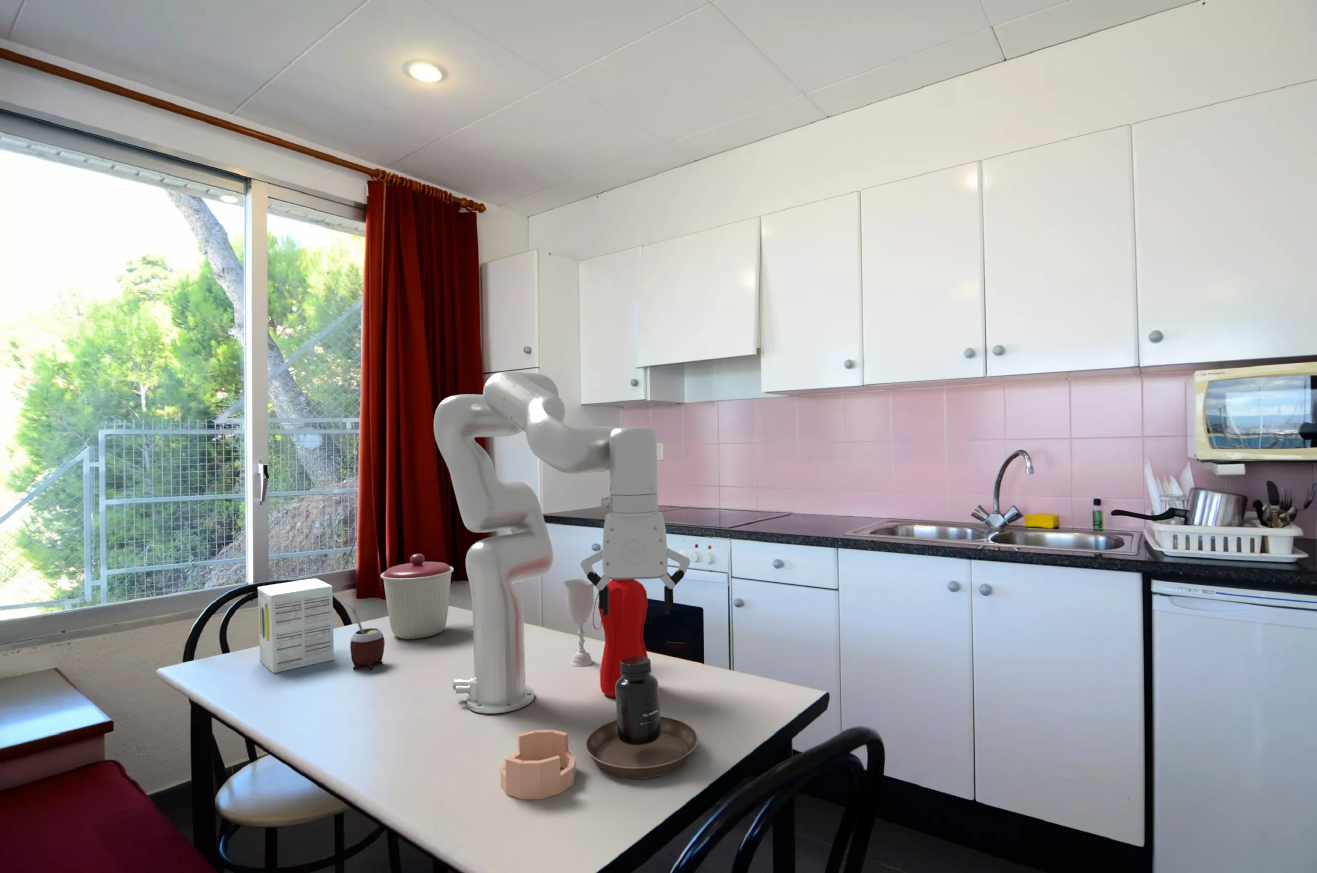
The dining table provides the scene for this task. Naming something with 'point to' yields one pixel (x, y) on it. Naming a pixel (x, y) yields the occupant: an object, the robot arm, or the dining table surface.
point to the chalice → (580, 613)
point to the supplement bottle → (637, 702)
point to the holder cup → (539, 766)
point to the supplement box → (295, 624)
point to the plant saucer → (642, 750)
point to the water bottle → (622, 629)
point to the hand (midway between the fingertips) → (636, 612)
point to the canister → (417, 597)
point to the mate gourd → (366, 646)
